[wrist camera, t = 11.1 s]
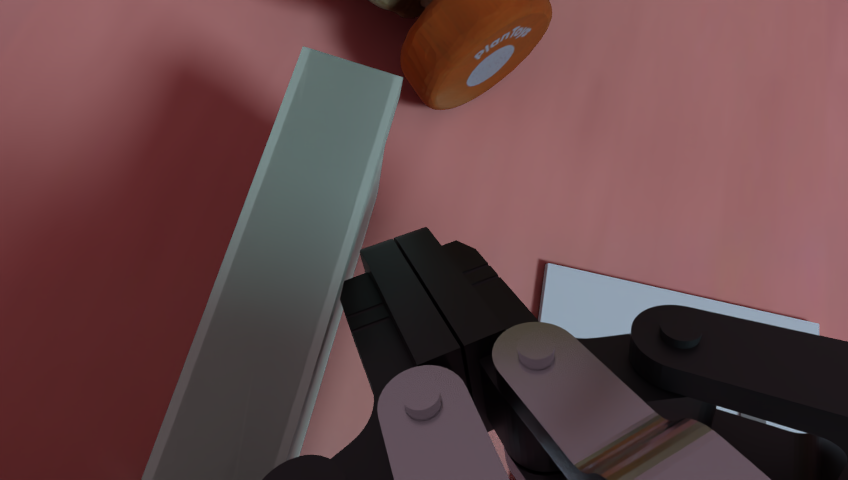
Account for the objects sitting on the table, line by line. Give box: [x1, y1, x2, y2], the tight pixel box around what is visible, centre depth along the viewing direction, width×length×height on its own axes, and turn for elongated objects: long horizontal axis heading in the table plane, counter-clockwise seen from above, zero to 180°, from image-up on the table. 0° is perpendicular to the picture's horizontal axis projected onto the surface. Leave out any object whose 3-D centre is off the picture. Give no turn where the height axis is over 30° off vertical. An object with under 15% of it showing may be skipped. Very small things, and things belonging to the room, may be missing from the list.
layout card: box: [538, 263, 819, 433], centre depth 16 cm, size 10×10×1 cm
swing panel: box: [141, 46, 403, 480], centre depth 11 cm, size 11×2×7 cm, turn 166°
